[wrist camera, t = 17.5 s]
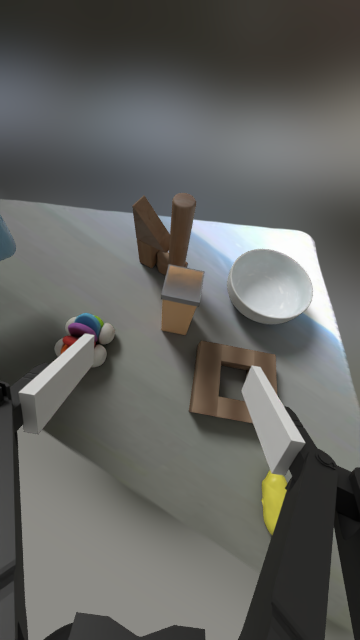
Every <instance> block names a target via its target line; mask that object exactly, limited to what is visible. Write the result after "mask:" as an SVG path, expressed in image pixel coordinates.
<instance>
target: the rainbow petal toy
mask: <svg viewBox="0 0 360 640" xmlns="http://www.w3.org/2000/svg"><path fill="white" fill-rule="evenodd" d="M65 329H66V332H67V334H68V335H69V336H65V337H63V338H62V339H60V340H59V341H58V342H57V343H56V345H55V353H56V355H57V356H58V357H59V356H60V355H61V354H62V353H64V352H65V351H66V350H67V349H68V348H69V347H70V346H71V345H73V344H74V343H75V342H76V341H77V340H78V339H79V338H80V337H82V336H83V335H84V334H90V335H95V336H94V361H93V365H92V366H91V367H98V366H100V365H102V364H103V363H104V361H105V359H106V356H107V352H106V349H105V348H104V347H103V346H101V345H96V342H97V341H99V343H100V344H108V343H110V342H111V341H112V340H113V338H114V336H115V330H114V327H113V326H112V325H111V324H109V323H105V324H104V323H103V321H102V320H101V319H100V318H99V317H97V316H93V315H92V314H89V313H84V314H81V315H79V316H78V317H73V318H71V319H70V320H69V321H68V322H67V323H66V327H65ZM95 345H96V346H95Z"/></svg>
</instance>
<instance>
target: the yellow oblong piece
mask: <svg viewBox="0 0 360 640" xmlns="http://www.w3.org/2000/svg"><path fill="white" fill-rule="evenodd" d="M286 485H287V482H286V479H285V478H284V476H283V475H277V474H272V473H271V470H270V471H269V472H268V474H267V476H266V478H265V479H264V480H263V481H262V495H263V499H262V503H263V517H264V522H265V525H266V527H267V529H268V531H269V532H270V534H271V535H273V532H274V529H275V526H276V522H277V519H278V516H279V513H280V510H281V507H282V504H283V500H284V497H285V494H286V491H287V490H286V489H285V487H286Z"/></svg>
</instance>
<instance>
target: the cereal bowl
mask: <svg viewBox="0 0 360 640" xmlns="http://www.w3.org/2000/svg"><path fill="white" fill-rule="evenodd" d="M227 290H228V294H229V297H230V299H231V301H232V303H233V304H234V306H235V307H236V308H237V309H238V310H239V311H240V312H241V313H242V314H243V315H244V316H246V317H248V318H249V319H251V320H253V321H256V322H259V323H263V324H280V323H285V322H287V321H290V320H292V319H294V318H296V317H297V316H299V315H300V314H302V313H303V312H304V311H305V310H306V309H307V308H308V307H309V305H310V303H311V301H312V297H313V287H312V283H311V280H310V278H309V276H308V274H307V273H306V271H305V270H304V269H303V268H302V267H301V266H300V265H299V264H298V263H297V262H296V261H295V260H293V259H292V258H290V257H289V256H287V255H285V254H283V253H280V252H277V251H274V250H269V249H255V250H251V251H248V252H246V253H244V254H242V255H241V256H240V257H238V258H237V260H236V261H235V262H234V264H233V266H232V268H231V270H230V272H229V276H228V281H227Z"/></svg>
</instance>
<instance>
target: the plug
mask: <svg viewBox="0 0 360 640" xmlns="http://www.w3.org/2000/svg"><path fill="white" fill-rule="evenodd" d="M203 279H204V271H199V270H195V269H190V268H185V267H180V266H176V265H171V264H169V266H168V270H167V274H166V277H165V281H164V285H163V289H162V293H161V299H163V303H162V329H161V330H162V331H167V332H172V333H177V334H182V335H186V333H187V330H188V328H189V325H190V322H191V320H192V317H193V315H194V312H195V309H196V307H198V306H199V304H200V298H201V292H202V285H203Z"/></svg>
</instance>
